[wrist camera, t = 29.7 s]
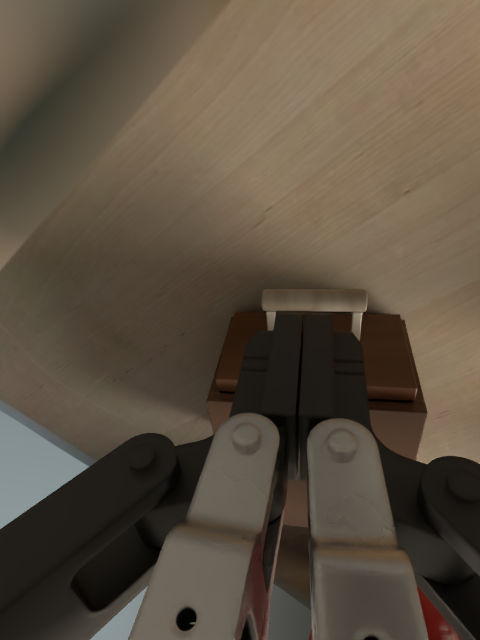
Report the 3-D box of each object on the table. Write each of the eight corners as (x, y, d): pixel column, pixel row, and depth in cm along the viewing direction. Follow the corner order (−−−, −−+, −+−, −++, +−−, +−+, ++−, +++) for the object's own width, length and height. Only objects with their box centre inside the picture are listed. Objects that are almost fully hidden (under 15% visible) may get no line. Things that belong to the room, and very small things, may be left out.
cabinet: (231, 316, 36) (206, 401, 28) (404, 319, 33) (427, 413, 25) (247, 432, 45) (231, 519, 37) (384, 442, 42) (396, 537, 35)
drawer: (227, 255, 31) (203, 317, 25) (409, 253, 29) (432, 321, 22) (249, 426, 43) (237, 496, 37) (381, 434, 40) (391, 512, 34)
